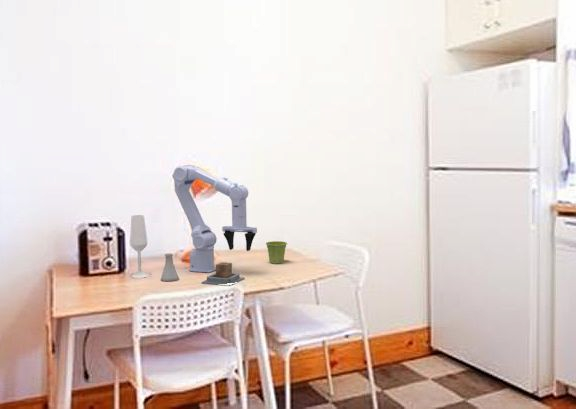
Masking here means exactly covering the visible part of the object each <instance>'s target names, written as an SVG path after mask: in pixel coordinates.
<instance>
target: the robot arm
mask: <svg viewBox="0 0 576 409" xmlns="http://www.w3.org/2000/svg"><path fill="white" fill-rule="evenodd" d="M172 179H173V183H174V192H175V194H176V197H177V199H178V201H179V203H180V205H181V208H182V209H183V212H184V214H185V216H186V218H187V220H188V223H189V225H190V227H191V229H192V231H191V234H190V236H191V238H192V245H193V247H194V248H192V249H191V250H190V253H189V270H188V271H189V272H197V273H199V272H200V273H211V272H213V271H216V266H215V245H216V243H217V236H216V234H215V232H213V231H212V229H211V228H210V226H209V225H207V224H206V223H205V222H204V219H203V217H202V215H201V213H200V210H199V208H198V206H197V203H196V202H195V200H194V198H193V196H192V193H191V191H190V188H191V187H192V185H193V183H194V182H195V181H196V180H200V181H202V182H204V183H206V184H208V185H211V186H213V187H214V188H215V191H217V192H219V193H220V194H223V195H225V196H226V197H229V199H230V202H231V225H232V226H231V225H230V226H229V225H225V226H222V230H221V231H222V233H223V236H224V238H225V240H226V241H227V242H226V243H227V245H228V249H229V250H230V251H231V250H234V245H235V244H234V237H235V233H244V237H245V243H246V244H245V245H246V246H245V247H246V248H245V249H246V251H247V252H249V251H251V249H252V244H253V240H254V239H255V236H256V234H257V233H258V227H253V226H247V225H248V224H247V198H248V196H249V189H248V188H247V187H246V186H244V184H243V185H238V182H232V181H230V180H228V177H226V176H225V177H219V178H217V177H215V176H214V175H212V174H210V173H209V172H206V171H205V170H203V169H201V168H200V167H198V166H197V167H196V166H195V165H183V166H181V165H179V166H177V167H175V169H174V170H173V173H172Z"/></svg>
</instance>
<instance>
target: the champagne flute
mask: <svg viewBox="0 0 576 409" xmlns="http://www.w3.org/2000/svg"><path fill="white" fill-rule="evenodd" d="M130 220H131V221H130V239H129V245H130V246H131V248H132V249H133V250H134V251H136V253H137V269H138V270H137V271H136V272H135V273H134V274H132V275H131V278H135V279H138V278H139V279H141V278H145V277H146V278H147V277H149V274H148V273H146V272H144V271H142V253H141V252H142V251H143V250H144V249H145V248H146V247H147V246H148V238H147V229H146V228H147V227H146V222H145V215H143V214H134V215H131V217H130Z"/></svg>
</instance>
